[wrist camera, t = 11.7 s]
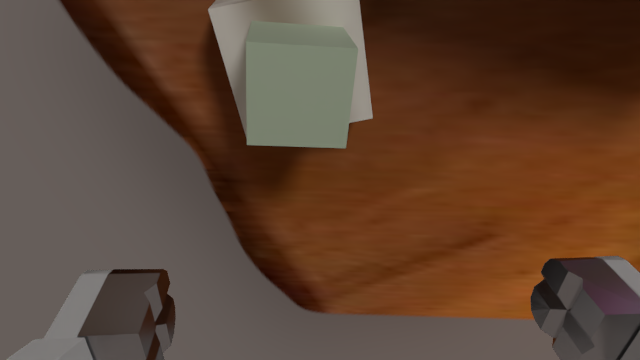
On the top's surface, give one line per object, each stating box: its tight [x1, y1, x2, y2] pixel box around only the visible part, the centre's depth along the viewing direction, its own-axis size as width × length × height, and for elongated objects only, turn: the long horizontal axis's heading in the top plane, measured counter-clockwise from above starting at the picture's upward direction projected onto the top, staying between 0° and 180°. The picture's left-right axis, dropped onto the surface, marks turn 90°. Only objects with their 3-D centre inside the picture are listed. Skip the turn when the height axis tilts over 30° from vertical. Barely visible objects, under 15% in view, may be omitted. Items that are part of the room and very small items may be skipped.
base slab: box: [208, 0, 373, 139], centre depth 26 cm, size 8×8×4 cm
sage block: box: [246, 21, 358, 148], centre depth 22 cm, size 5×5×5 cm
